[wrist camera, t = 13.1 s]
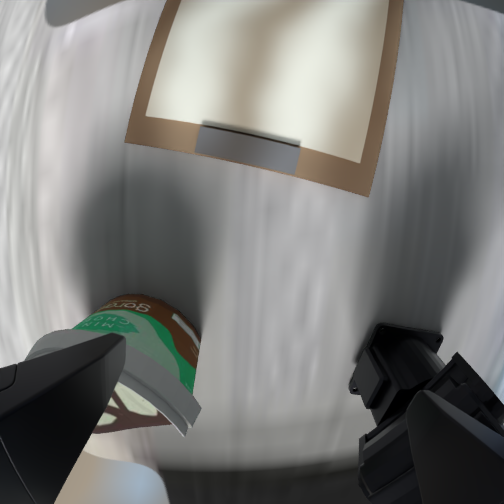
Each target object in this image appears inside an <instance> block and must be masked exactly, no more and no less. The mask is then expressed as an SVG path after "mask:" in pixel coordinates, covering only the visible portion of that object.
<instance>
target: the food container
mask: <svg viewBox="0 0 504 504" xmlns="http://www.w3.org/2000/svg"><path fill="white" fill-rule="evenodd" d="M112 332H114V333H117V334H120V335H123V336H125V338H126V360H125V365H124V368H123V370H122V373H121V375H120V377H119V380H118V382H117V384H116V387H115V389H114V391H113V394H112V396H111V399H110V401H109V403H108V405H107V408H106V409H105V411H104V413H103V415H102V417H101V418H100V420H99V422H98V424H97V425H96V427H95V429H94V431H93V432H92V433H95V434H100V433H109V432H115V431H120V430H126V429H132V428H139V427H150V426H160V425H170V424H173V425H174V426H175V427H176V428H177V430H178V431H179V432H180V433H181V435H182V436H183V437H185V435H186V432H187V429H188V427H192V426H193V424H194V422H195V420H196V418H197V416H198V415H199V413H200V411H201V409H202V408H201V406H200V405H199V404H198V402H197V401H196V399H195V398H194V396H193V395H192V394H193V387H194V381H195V374H196V368H197V362H198V356H199V349H200V343H201V338H200V337H199V335H198V333H197V331H196V329H195V328H194V326H193V325H192V324H191V323H190V322H189V321H188V320H187V319H186V318H185V317H184V316H183V315H182V314H181V312H180V311H178V310H177V309H175V308H173V307H172V306H170V305H168V304H167V303H165V302H164V301H162V300H160V299H156V298H153V297H150V296H146V295H143V294H127V295H122V296H119V297H116V298H114V299H112V300H111V301H109V302H108V303H106V304H105V305H104V306H102V307H101V308H99V309H98V310H97V311H95V312H94V313H93V314H91V315H90V316H89V317H87V318H86V319H84V320H83V321H82V322H80V323H79V324H78V325H76V326H75V327H74V328H72V329H65V330H58V331H54V332H51V333H49V334H46V335H44V336H43V337H42V338H40V339H39V340H38V341H37V342H36V343H35V345H34V346H33V347H32V349H31V350H30V352H29V354H28V355H27V357H26V359H25V360H24V361H26V360H29V359H32V358H36V357H39V356H42V355H45V354H48V353H51V352H54V351H57V350H60V349H63V348H67V347H70V346H73V345H76V344H79V343H82V342H85V341H88V340H91V339H94V338H97V337H100V336H102V335H105V334H108V333H112Z"/></svg>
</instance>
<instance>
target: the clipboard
mask: <svg viewBox="0 0 504 504" xmlns="http://www.w3.org/2000/svg"><path fill="white" fill-rule="evenodd" d="M403 2H404V0H167V1H166V4H165V6H164V9H163V11H162V14H161V17H160V19H159V22H158V25H157V28H156V30H155V33H154V36H153V39H152V42H151V45H150V48H149V51H148V54H147V57H146V61H145V64H144V67H143V71H142V74H141V77H140V81H139V84H138V88H137V92H136V95H135V99H134V103H133V107H132V111H131V115H130V119H129V124H128V128H127V133H126V137H125V143H132V144H138V145H145V146H151V147H157V148H163V149H169V150H174V151H180V152H185V153H191V154H196V155H201V156H206V157H211V158H216V159H221V160H226V161H230V162H235V163H239V164H244V165H248V166H253V167H257V168H261V169H266V170H270V171H274V172H278V173H282V174H286V175H290V176H294V177H298V178H302V179H306V180H309V181H313V182H317V183H320V184H324V185H328V186H331V187H335V188H338V189H342V190H345V191H349V192H352V193H355V194H359V195H362V196H365V197H369V194H370V190H371V186H372V182H373V178H374V174H375V170H376V166H377V161H378V157H379V153H380V148H381V144H382V139H383V134H384V130H385V125H386V120H387V115H388V109H389V104H390V99H391V93H392V87H393V81H394V75H395V68H396V62H397V55H398V47H399V40H400V31H401V22H402V13H403Z"/></svg>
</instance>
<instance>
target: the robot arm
mask: <svg viewBox="0 0 504 504" xmlns="http://www.w3.org/2000/svg"><path fill="white" fill-rule="evenodd" d="M382 328H384V330H383V331H382V332H380V330H381V329H382ZM437 338H438V340H436V339H437ZM442 342H443V336H442V334H441V333H439V332H433V331H426V330H420V329H415V328H409V327H403V326H397V325H392V324H386V323H380V324H378V325H377V326H376V327H375V330H374V332H373V334H372V337H371V339H370V342H369V344H368V346H367V348H365V349H364V351H363V353H362V355H361V358H360V360H359V362H358V364H357V367H356V369H355V371H354V373H353V379H352V381H351V383H350V385H349V391H350V393H351V394H355V395H361V397H362V400H363V403H364V405H365V407H366V409H370V410H371V412H372V415H373V417H374V420H375V422H376V425H377V427H376V428H375V429H373V430H372V431H371V432H369V433H368V434H365V435H363V436H362V437H361V438H359V464H358V480H359V486H360V487H361V489H362V491H363V492H364V494H365V496H366V497H367V498H368V500H369V501H370V502H371V503H372V504H504V425H503V423H504V405H503V403H502V402H501V401H500V400H499V398H498V397H497V396H496V395H495V394H494V392H493V391H492V390H491V389H490V388H489V387H488V385H487V384H486V383H485V382H484V381H483V380H482V378H481V377H480V376H479V375H478V374H477V373H476V372H475V371H474V370H473V368H472V367H471V366H470V365H469V364H468V363H467V362H466V361H465V360H464V359H463V357H462V356H461V355H460V354H459V353H458V352H456V353H455V354H454V355H453V357H452V360H451V361H450V362H449V363H448V364H447V365H445V364H444V363H443V361H442V360H441V359H440V358H439V356H438V355H437V352H438V350H439V348H440V346H441V344H442ZM125 360H126V338H125V336H123V335H120V334H117V333H114V332H112V333H108V334H105V335H102V336H100V337H97V338H94V339H91V340H88V341H85V342H82V343H79V344H76V345H73V346H70V347H67V348H63V349H60V350H57V351H54V352H51V353H48V354H45V355H42V356H39V357H36V358H32V359H29V360H26V361H23V362H20V363H18V364H13V365H10V366H7V367H3V368H0V504H54V502H55V500H56V498H57V496H58V494H59V493H60V491H61V489H62V487H63V485H64V483H65V481H66V479H67V477H68V476H69V474H70V472H71V470H72V468H73V467H74V465H75V463H76V461H77V459H78V457H79V456H80V454H81V452H82V450H83V448H84V447H85V445H86V443H87V441H88V439H89V438H90V436H91V434H92V432H93V431H94V429H95V427H96V425H97V424H98V422H99V420H100V418H101V417H102V415H103V413H104V411H105V409H106V408H107V405H108V403H109V401H110V399H111V396H112V394H113V391H114V389H115V387H116V384H117V382H118V380H119V377H120V375H121V373H122V370H123V368H124V365H125ZM355 387H357V388H356V389H354V388H355Z"/></svg>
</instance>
